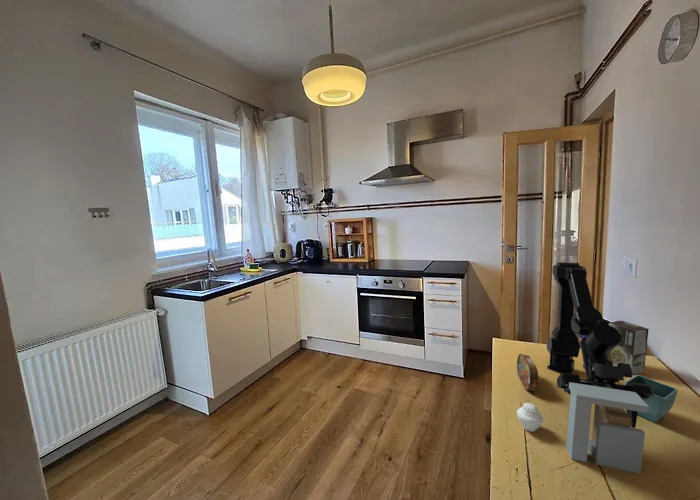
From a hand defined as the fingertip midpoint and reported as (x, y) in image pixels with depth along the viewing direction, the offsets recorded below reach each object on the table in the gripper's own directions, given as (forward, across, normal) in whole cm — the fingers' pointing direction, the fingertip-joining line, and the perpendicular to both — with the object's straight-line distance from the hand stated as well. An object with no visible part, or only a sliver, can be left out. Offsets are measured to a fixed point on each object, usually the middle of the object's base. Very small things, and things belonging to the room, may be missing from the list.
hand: (609, 423), depth 74 cm
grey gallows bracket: (+7, -2, +3) cm, 8 cm away
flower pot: (-8, +16, +19) cm, 26 cm away
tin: (-13, -13, +24) cm, 30 cm away
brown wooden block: (+6, 0, +5) cm, 7 cm away
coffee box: (-29, +22, +40) cm, 54 cm away
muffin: (+4, -16, +7) cm, 18 cm away
